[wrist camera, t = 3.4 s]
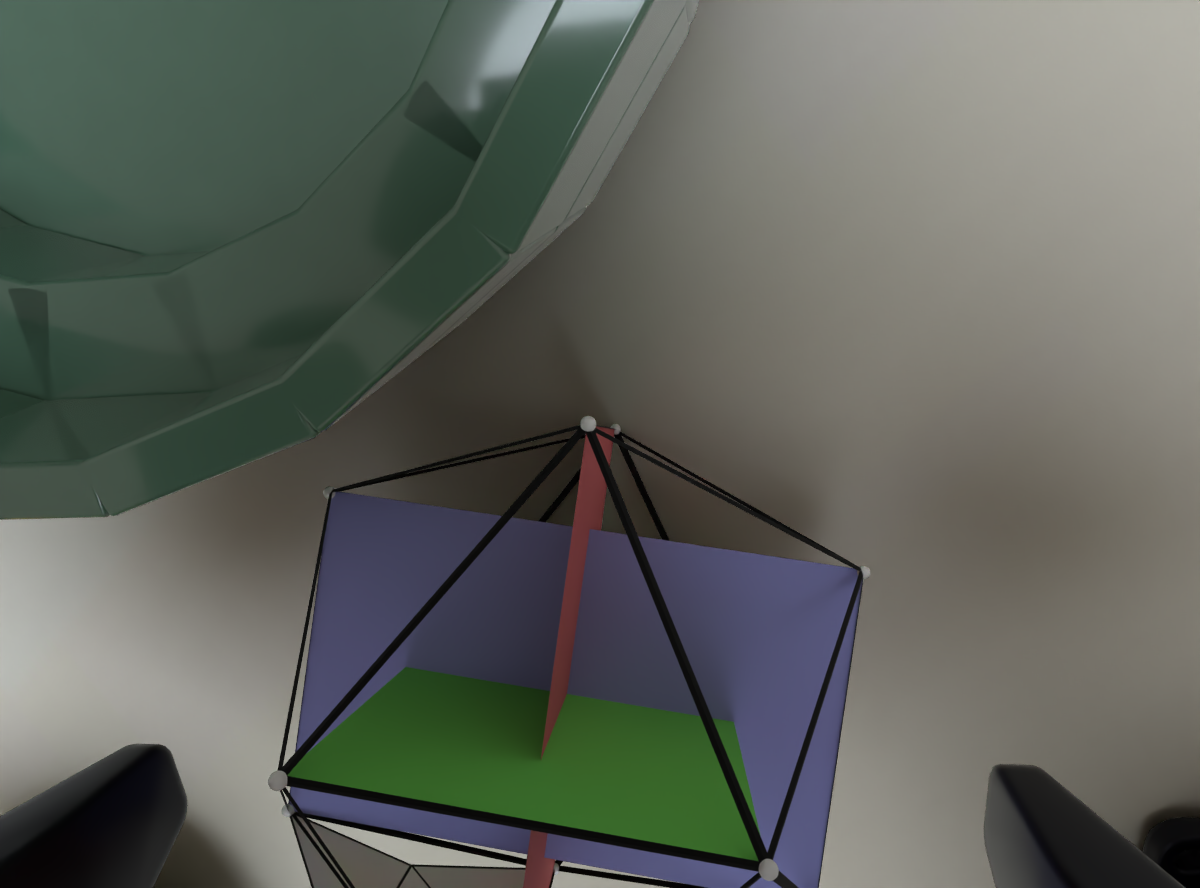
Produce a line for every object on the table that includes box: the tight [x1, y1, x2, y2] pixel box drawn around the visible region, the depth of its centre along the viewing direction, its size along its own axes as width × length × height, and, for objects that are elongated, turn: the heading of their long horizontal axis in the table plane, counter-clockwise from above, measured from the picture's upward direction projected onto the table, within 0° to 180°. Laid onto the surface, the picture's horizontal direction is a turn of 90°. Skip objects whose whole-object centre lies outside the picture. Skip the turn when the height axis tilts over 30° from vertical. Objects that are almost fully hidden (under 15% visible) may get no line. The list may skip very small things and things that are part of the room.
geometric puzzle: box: [268, 416, 870, 888], centre depth 10 cm, size 7×7×8 cm
